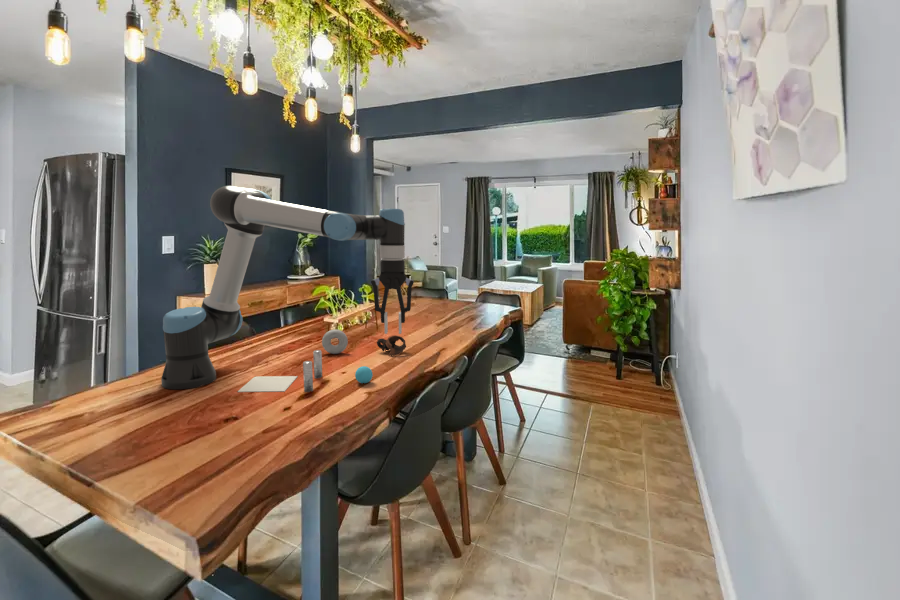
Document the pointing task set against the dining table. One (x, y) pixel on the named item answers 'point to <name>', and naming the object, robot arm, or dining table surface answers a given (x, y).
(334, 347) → the donut
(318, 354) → the post
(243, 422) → the dining table surface
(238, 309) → the robot arm
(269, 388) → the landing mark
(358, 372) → the ball
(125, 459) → the dining table surface
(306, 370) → the post
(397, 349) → the dark brown looped sculpture
